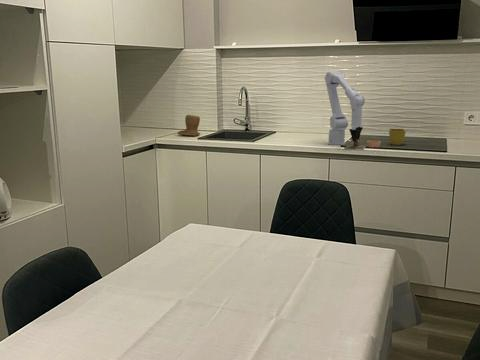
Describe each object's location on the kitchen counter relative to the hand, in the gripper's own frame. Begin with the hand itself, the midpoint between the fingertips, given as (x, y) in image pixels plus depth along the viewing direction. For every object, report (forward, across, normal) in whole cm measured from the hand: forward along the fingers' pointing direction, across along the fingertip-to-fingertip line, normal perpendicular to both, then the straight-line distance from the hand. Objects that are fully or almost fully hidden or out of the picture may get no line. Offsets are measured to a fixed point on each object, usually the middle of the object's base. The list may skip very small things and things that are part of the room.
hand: (355, 140), depth 283 cm
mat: (+4, 0, 0) cm, 4 cm away
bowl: (+4, +7, -9) cm, 12 cm away
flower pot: (+4, +18, -21) cm, 28 cm away
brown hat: (+5, +13, +120) cm, 121 cm away
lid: (+4, 0, 0) cm, 4 cm away
